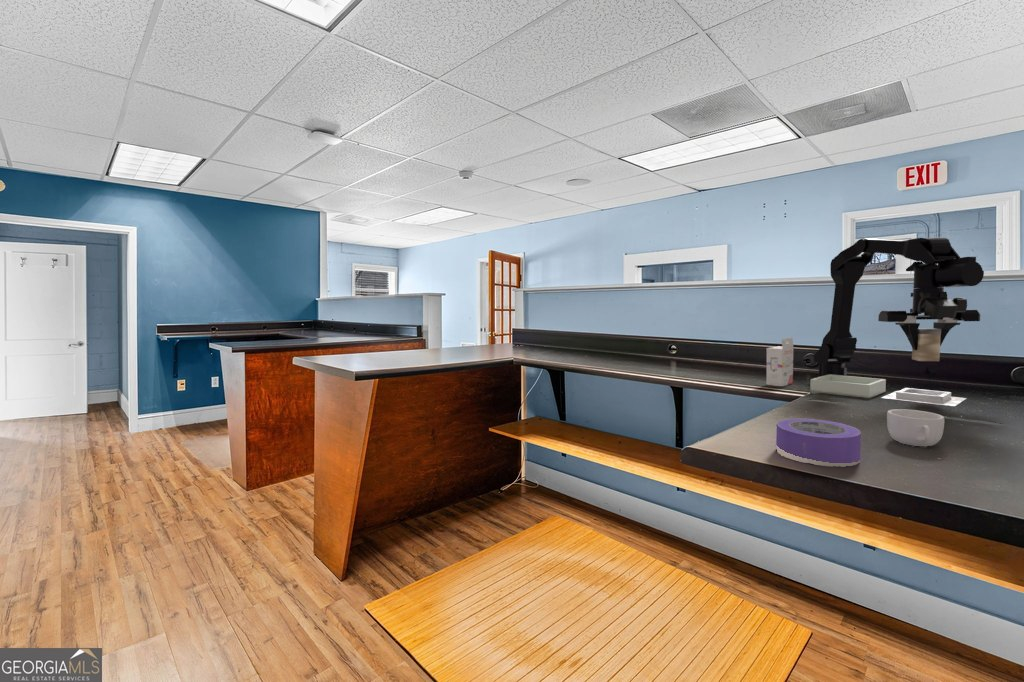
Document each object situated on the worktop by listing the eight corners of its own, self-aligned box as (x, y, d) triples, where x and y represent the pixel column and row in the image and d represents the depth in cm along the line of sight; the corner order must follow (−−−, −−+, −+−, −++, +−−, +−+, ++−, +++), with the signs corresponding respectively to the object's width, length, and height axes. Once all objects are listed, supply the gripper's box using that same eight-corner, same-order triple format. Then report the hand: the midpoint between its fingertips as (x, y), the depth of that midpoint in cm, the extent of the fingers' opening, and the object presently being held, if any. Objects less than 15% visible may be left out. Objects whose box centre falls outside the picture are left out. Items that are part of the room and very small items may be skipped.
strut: (919, 361, 116) (920, 329, 116) (911, 359, 120) (912, 328, 120) (939, 361, 115) (941, 329, 114) (931, 359, 119) (932, 328, 118)
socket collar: (880, 399, 120) (881, 391, 120) (896, 393, 128) (896, 385, 128) (954, 408, 109) (955, 399, 108) (966, 400, 117) (967, 392, 117)
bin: (810, 393, 130) (810, 379, 130) (828, 387, 138) (828, 374, 138) (869, 400, 119) (869, 385, 119) (885, 393, 128) (885, 379, 127)
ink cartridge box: (776, 381, 150) (777, 336, 149) (793, 383, 147) (794, 337, 145) (765, 385, 145) (766, 338, 144) (782, 386, 141) (783, 338, 140)
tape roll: (843, 473, 69) (844, 441, 69) (763, 454, 79) (763, 425, 78) (871, 457, 76) (872, 427, 76) (794, 442, 86) (795, 415, 85)
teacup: (880, 435, 88) (881, 407, 88) (932, 440, 85) (933, 411, 85) (898, 451, 79) (899, 420, 79) (957, 456, 76) (958, 423, 75)
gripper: (899, 288, 112) (896, 352, 113) (997, 285, 106) (994, 353, 107) (878, 289, 122) (876, 348, 123) (967, 287, 116) (963, 349, 118)
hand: (925, 350), depth 117 cm, fingers closed on strut, 4 cm apart
